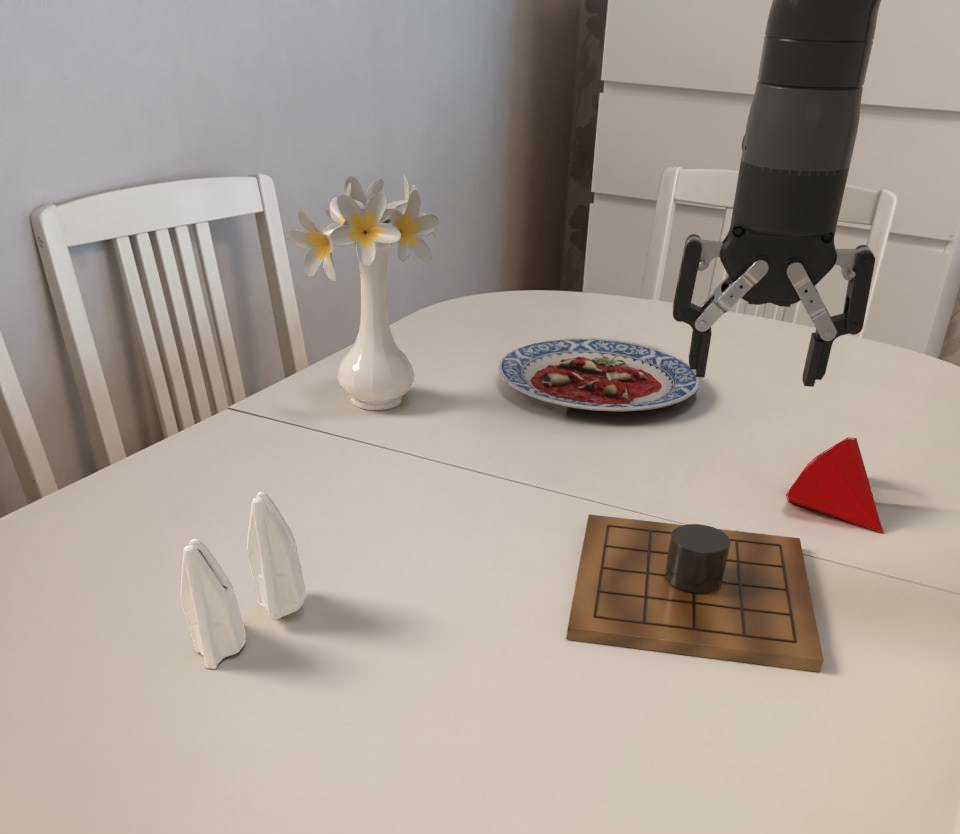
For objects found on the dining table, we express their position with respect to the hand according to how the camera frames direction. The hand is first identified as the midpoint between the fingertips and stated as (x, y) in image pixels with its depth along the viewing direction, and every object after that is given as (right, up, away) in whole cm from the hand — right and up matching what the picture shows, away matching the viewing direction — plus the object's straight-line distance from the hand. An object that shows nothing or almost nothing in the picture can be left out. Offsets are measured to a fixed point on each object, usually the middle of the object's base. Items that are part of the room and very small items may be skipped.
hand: (753, 378), depth 78 cm
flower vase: (-35, +8, +40) cm, 54 cm away
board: (-3, -17, +7) cm, 18 cm away
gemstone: (+15, -8, +21) cm, 27 cm away
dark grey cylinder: (-3, -16, +6) cm, 17 cm away
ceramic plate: (-7, +12, +48) cm, 49 cm away
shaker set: (-40, -20, 0) cm, 45 cm away
